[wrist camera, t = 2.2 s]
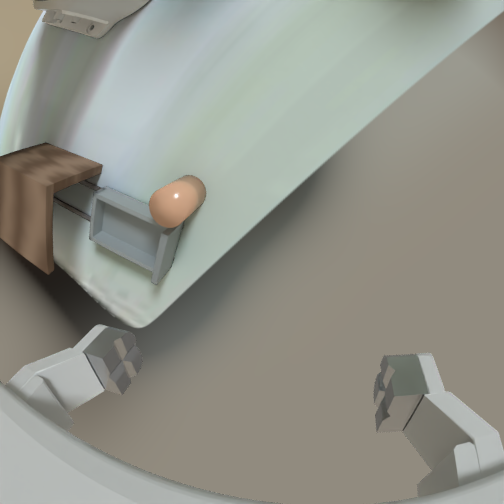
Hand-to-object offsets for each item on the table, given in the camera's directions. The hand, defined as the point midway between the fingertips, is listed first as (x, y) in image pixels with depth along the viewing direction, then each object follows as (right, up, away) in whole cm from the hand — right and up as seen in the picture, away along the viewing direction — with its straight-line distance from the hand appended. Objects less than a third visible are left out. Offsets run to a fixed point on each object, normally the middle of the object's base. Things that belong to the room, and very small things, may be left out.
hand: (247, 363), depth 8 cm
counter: (-21, +10, +26) cm, 35 cm away
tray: (-15, +7, +26) cm, 31 cm away
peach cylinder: (-7, +10, +23) cm, 26 cm away
